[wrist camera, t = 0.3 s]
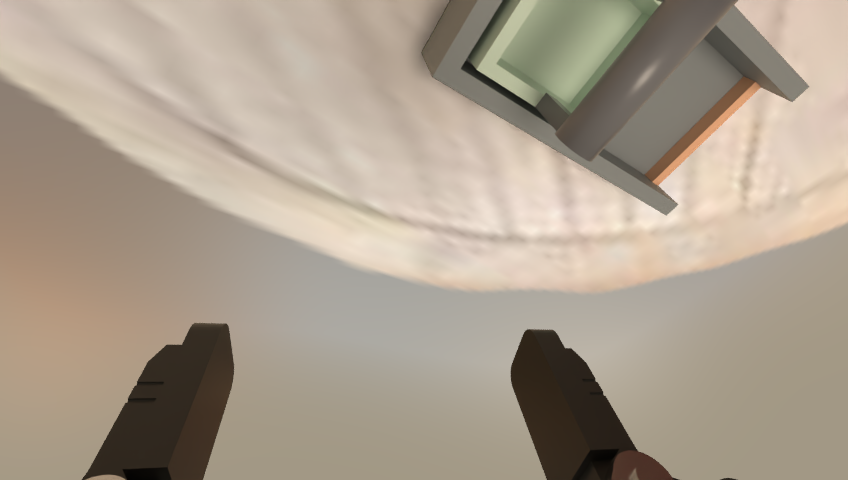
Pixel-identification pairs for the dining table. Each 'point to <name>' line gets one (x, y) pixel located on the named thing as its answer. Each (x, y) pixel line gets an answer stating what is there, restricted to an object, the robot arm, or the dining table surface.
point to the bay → (655, 121)
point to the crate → (591, 58)
